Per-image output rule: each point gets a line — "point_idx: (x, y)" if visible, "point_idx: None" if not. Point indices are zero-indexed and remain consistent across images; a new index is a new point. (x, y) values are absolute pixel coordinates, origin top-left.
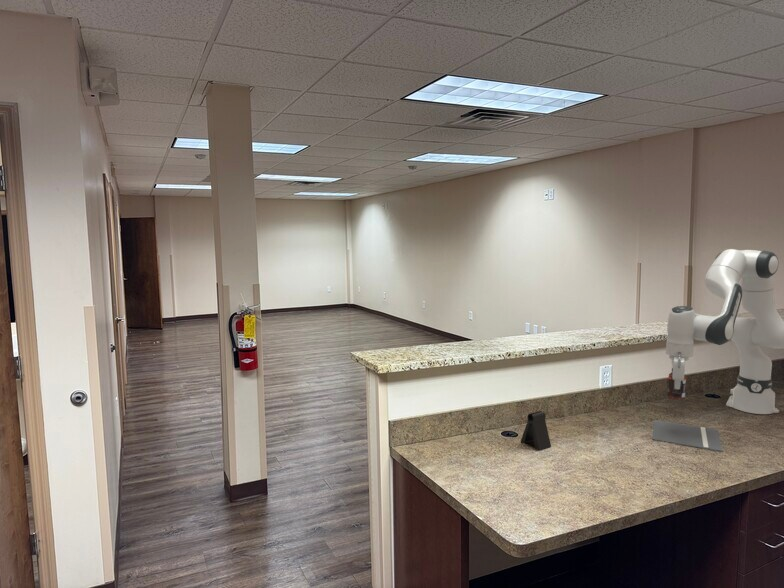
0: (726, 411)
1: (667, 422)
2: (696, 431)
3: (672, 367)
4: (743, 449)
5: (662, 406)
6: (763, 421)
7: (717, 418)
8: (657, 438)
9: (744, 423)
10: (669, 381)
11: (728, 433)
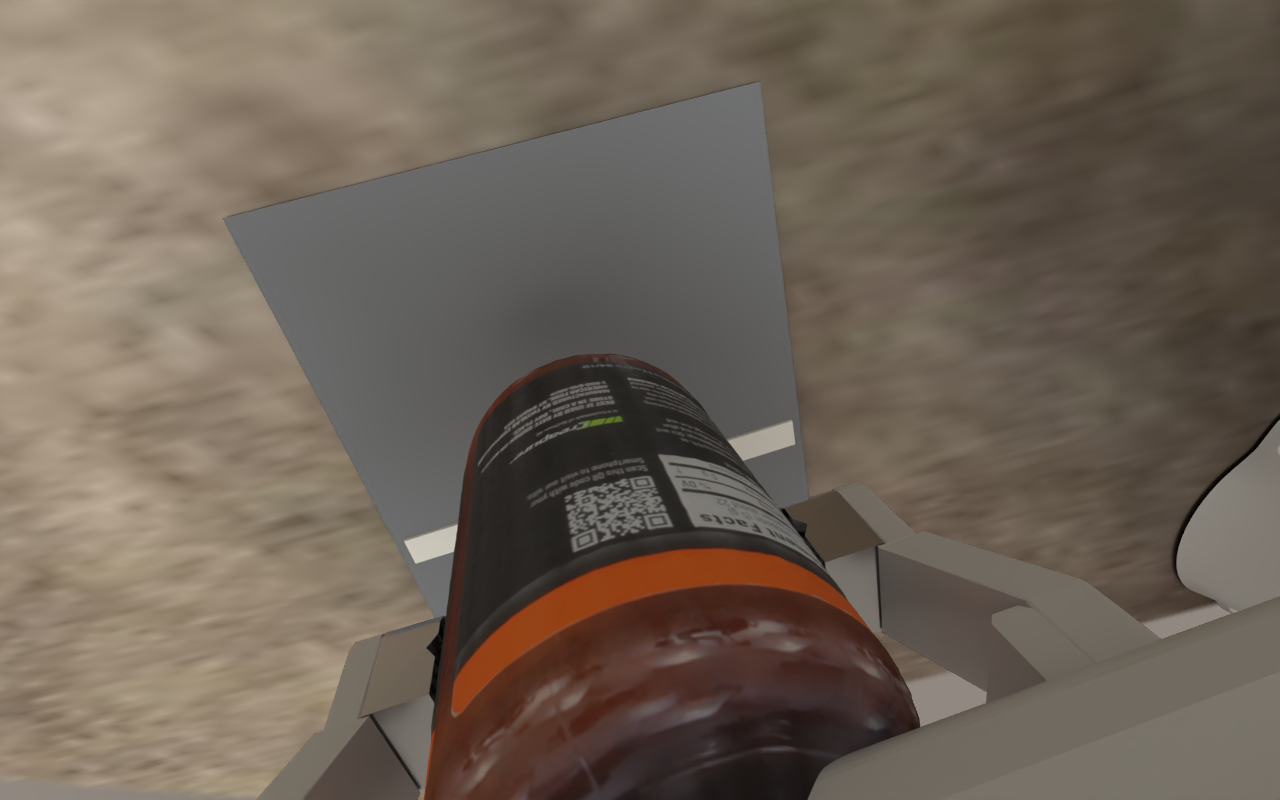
0: (1183, 437)
1: (758, 205)
2: None
3: (1223, 778)
4: None
5: (1177, 44)
6: None
7: (1034, 436)
8: (284, 251)
9: (1004, 554)
10: (491, 570)
11: None
